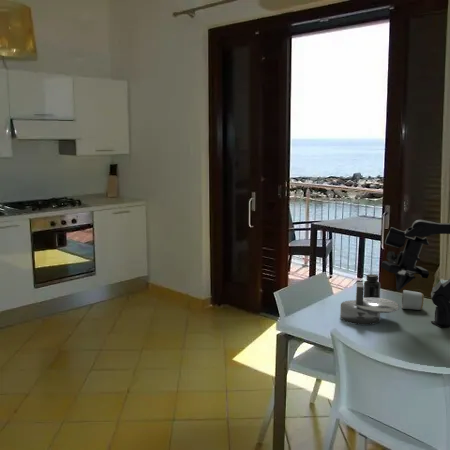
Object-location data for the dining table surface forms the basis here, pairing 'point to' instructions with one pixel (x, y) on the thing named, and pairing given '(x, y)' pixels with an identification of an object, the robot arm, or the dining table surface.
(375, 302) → the grey disc with post
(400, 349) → the dining table surface
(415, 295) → the grey rounded block
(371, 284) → the supplement bottle
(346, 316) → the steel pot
